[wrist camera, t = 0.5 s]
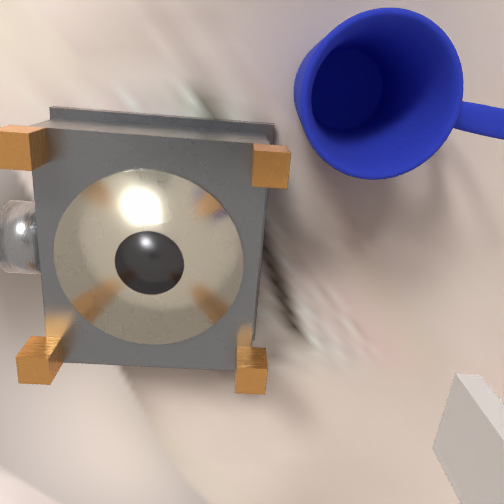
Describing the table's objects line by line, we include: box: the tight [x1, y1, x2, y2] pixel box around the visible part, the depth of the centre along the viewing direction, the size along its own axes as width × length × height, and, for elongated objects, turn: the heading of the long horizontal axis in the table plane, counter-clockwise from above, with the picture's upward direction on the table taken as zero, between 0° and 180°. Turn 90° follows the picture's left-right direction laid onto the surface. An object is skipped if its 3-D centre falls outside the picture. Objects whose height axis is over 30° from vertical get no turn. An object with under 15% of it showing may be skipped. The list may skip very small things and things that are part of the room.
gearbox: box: [0, 106, 291, 394], centre depth 32 cm, size 17×18×8 cm
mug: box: [294, 8, 504, 180], centre depth 29 cm, size 8×12×10 cm
